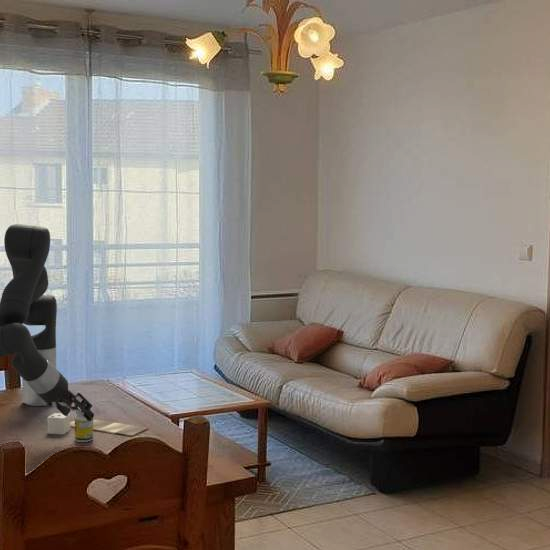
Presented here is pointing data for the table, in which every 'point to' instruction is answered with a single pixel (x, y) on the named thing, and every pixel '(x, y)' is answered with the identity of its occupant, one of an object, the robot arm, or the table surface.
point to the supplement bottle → (83, 428)
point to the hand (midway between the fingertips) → (79, 415)
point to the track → (115, 428)
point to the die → (58, 423)
